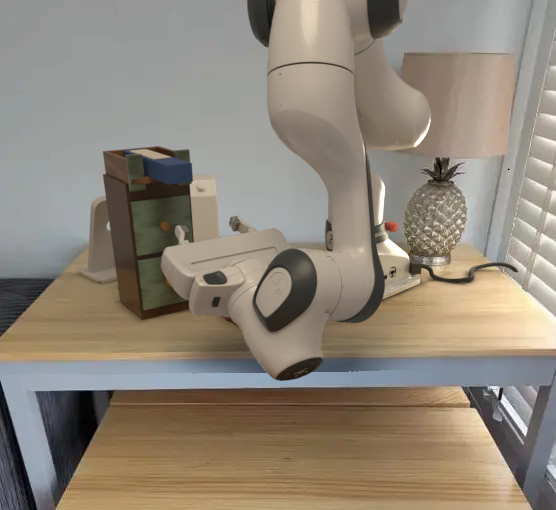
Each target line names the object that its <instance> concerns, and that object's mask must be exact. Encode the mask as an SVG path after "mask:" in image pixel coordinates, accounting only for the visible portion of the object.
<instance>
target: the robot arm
mask: <svg viewBox="0 0 556 510" xmlns="http://www.w3.org/2000/svg"><path fill="white" fill-rule="evenodd" d="M408 3H409V0H246V12H247V18H248V23H249V25H250V29H251V33H252V34H253V36H254V38H255V39H256V40H257V41H258V42H259V43H260V44H261V45H262V46H263V47H265V48H268V50H267V64H266V65H267V66H266V68H267V69H266V71H267V72H266V107H267V108H266V109H267V113H268V119H269V123H270V127H271V128H272V131H273V132H274V134H275V135H276V137H277V138H278V140H279V141H280V142H281V143H282V144H283V145H284V146H285V147H286V148H287V149H288V150H289V151H291V152H292V153H293V154H295V155H296V156H298V157H299V158H300V159H302V161H304V162H306V164H308V166H310V168H312V169H313V170H314V171H315V173H316V174H317V175H318V176H319V177H320V179H321V180H322V182H323V184H324V186H325V188H326V191H327V219H326V220H325V228H324V241H325V250H321V249H316V248H291V246H290V244H289V242H288V241H287V239H286V237H285V235H284V234H283V232H282V231H281V230H279V229H277V228H275V227H271V228H270V227H269V228H264V229H259V230H257V228H256V227H254V226H253V225H252V224H249V223H247V222H246V221H244V220H243V219H242V217H241V216H240V215H234V216H230V218H229V222H228V225H229V227H230V228H231V230H232V232H234V233H235V232H238V234H232V235H225V236H222V237H219V238H215V239H210V240H204V241H199V242H193V243H189V241H188V235H189V232H190V231H189V229H188V228H186V225H179V226H176V228H175V235H176V237H177V238H178V240H179V242H178V245H177V246H171V247H167V248H165V250H164V252H163V255H162V259H161V269H162V271H163V273H164V275H165V277H166V278H167V280H168V282H169V283H170V284H171V286H172V287H173V289H174V290H175V291H176V292H177V294H178V295H179V296H181V297H182V298H184V299H187V300H189V309H188V310H189V311H190V312H191V313H192V314H193V315H196V316H214V317H215V316H216V317H218V316H219V317H224V318H225V317H231V319H232V320H233V322H234V324H235V325H236V326H237V327H239V329H240V331H241V333H242V337H243V340H244V342H245V344H246V346H247V347H248V350H249V352H251V354H252V355H253V357H254V358H255V360H256V361H257V363H258V365H260V367H261V368H262V369H263V370H264V371H265V373H266V374H267V375H268V376H269V377H271V378H272V379H274V380H275V381H280V382H287V381H293V380H298V379H300V378H302V377H303V378H304V377H305V376H307V375H309V374H311V373H313V372H315V370H318V368H319V367H320V366H321V365H322V363H323V362H324V355H323V352H322V351H323V350H322V340H323V334H324V329H325V328H326V324H327V323H329V322H337V323H347V324H359V323H362V322H365V321H367V320H369V319H370V318H371V317H373V315H374V314H375V313H376V312H377V310H378V309H379V307H380V306H381V303H382V301H383V300H386V299H388V298H390V297H393V296H394V295H397V294H400V293H401V292H404V291H406V290H409V289H411V288H415V286H418V285H420V284H421V278H420V277H419V276H418V275H421V274H422V269H425V270H426V271H427V272H428V274H429V277H430V278H432V279H433V280H435V281H438V282H439V281H440V282H446V283H453V284H454V283H455V284H457V283H458V284H459V283H466V282H470V281H473V280H474V279H475V277H476V275H475V271H477V270H481V269H487V268H492V267H502V268H507V269H508V270H510V271H512V272H513V273H519V270H518V269H517V267H515V266H514V265H513V264H511V263H508V262H503V261H501V262H500V261H496V262H495V261H494V262H487V263H482V264H477V265H473V266H471V267H470V269H469V275H470V276H465V277H460V278H459V277H457V278H447V277H441V276H438V275H436V274H435V273H434V270H433V268H432V267H431V266H430V265H428V264H426V263H425V264H424V263H422V262H420V261H419V260H418V259H416V258H415V257H414V256H409V255H408V253H407V252H406V251H404V250H403V249H402V248H401V247H399V245H397V244H396V243H395V242H394V241H393V240H391V239H390V238H389V234H388V232H391V233H393V234H394V233H397V231H398V230H399V224H398V223H397V222H393V221H392V220H390V221H389V220H388V221H387V222H386V221H385V220H384V207H385V195H386V187H385V186H386V185H385V182H384V181H383V179H382V176H380V175H379V174H378V173H377V172H376V171H374V170H373V169H371V164H370V157H369V152H368V151H387V152H390V151H391V152H392V151H399V150H406V149H411V148H416V147H417V146H418V145H420V143H421V142H422V141H423V140H424V139H425V137H426V135H427V134H428V132H429V128H430V126H431V119H432V112H431V111H432V110H431V106H430V102H429V100H428V99H427V97H426V96H425V94H424V93H423V92H422V91H421V90H418V89H417V88H414V87H413V86H411V85H409V84H408V83H406V82H405V81H404V80H403V79H402V78H401V77H400V76H399V75H398V74H397V73H396V72H395V70H394V69H393V68H392V66H391V64H390V63H389V61H388V59H387V55H386V52H385V47H384V40H383V38H385V37H387V36H389V35H392V34H394V33H395V32H396V31H397V30H398V29H399V27H400V26H401V25H402V24H403V19H404V15H405V14H406V11H407V8H408ZM184 240H185V241H184ZM233 322H232V323H233ZM503 393H504V388H503V387H500V388H499V390H498V393H497V394H498V395H497V401H499V402H501V401H502V399H503Z"/></svg>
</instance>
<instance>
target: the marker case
mask: <svg viewBox="0 0 556 510" xmlns="http://www.w3.org/2000/svg"><path fill="white" fill-rule="evenodd" d="M132 154H142V159H143V168H144V175H145V176H148V177H150V178H153V179H155V180H158V181H160V182H163V183H165V184H168V185H171V184H179V183H187V182H193V174H194V173H193V163H192V162H191V161H190V162H187V161H184V160H181V159H177V158H174V157H171V156H168V155H165V154H161V153H158V152H155V151H152V150H148V149H134V150H123V156H124V158H125V155H132Z"/></svg>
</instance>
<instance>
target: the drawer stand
mask: <svg viewBox="0 0 556 510" xmlns="http://www.w3.org/2000/svg"><path fill="white" fill-rule="evenodd" d="M134 149H148V150H152V151H155V152H158V153H161V154H165V155H168V156H171V157H174V158H177V159H181V160H184V161H187V162H190V163H191V155H190V153H191V152H190V149H188V148H186V149H170V148H166V147H164V146H160V145H155V146H146V147H133V148H124V149H123V148H122V149H112V150H111V149H110V150H103V151H102V156H103V163H104V171H105V173H102V178H103V179H102V180H103V185H104V186H103V187H104V193H105V196H106V201H107V209H108V216H109V222H108V224H109V230H110V231H111V238H112V245H113V253H114V260H115V267H116V275H117V280H116V282H117V288H118V295H119V297H118V298H119V303H121V304H122V305H124V306H125V307H126V308H127V309H128V310H129V311H130V312H132V314H134V315H135V316H136V317H138V318H139V319H140V320H141V321H143V320H147V319H151V318H155V317H156V318H157V317H160V316H165V315H169V314H173V313H177V312H181V311H186V310H190V309H189V300H187V299H184V298H182V297H181V296H179V295H178V294H177V292H176V291H175V290H174V289H173V287H172V286H171V284H170V283H169V282H168V280H167V278H166V277H165V275H164V273H163V271H162V269H161V259H162V255H163V252H164V250H165V248H167V247H171V246H177V245H178V242H179V240H178V238H177V237H176V235H175V228H176V226H179V225H186V228H188V229H189V231H190V232H189V235H188V241H189V243H193V242H194V236H193V222H192V209H191V195H190V184H192V182H187V183H179V184H171V185H168V184H165V183H163V182H160V181H158V180H155V179H153V178H150V177H148V176H145V175H144V168H143V159H142V154H132V155H125V158H124V156H123V150H134ZM184 241H185V240H184Z"/></svg>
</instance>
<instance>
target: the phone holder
mask: <svg viewBox="0 0 556 510" xmlns="http://www.w3.org/2000/svg"><path fill="white" fill-rule="evenodd" d="M89 215H90V216H89V236H88V259H87V260H88V261H87V267H86V268H82V269H81V270H80V271H79V272H80V275H81V276H83V277H85V278H87V279H90V280H92V281H95V282H97V283H101V284H105V283H109V282H114V281H117V275H116V267H115V260H114V253H113V245H112V238H111V231H110V229H108V228H107V226H108V224H109V216H108V209H107V201H106V195H102V196H98V197H96V198H94V200H93V201H92V202H91V204H90V214H89Z"/></svg>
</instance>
